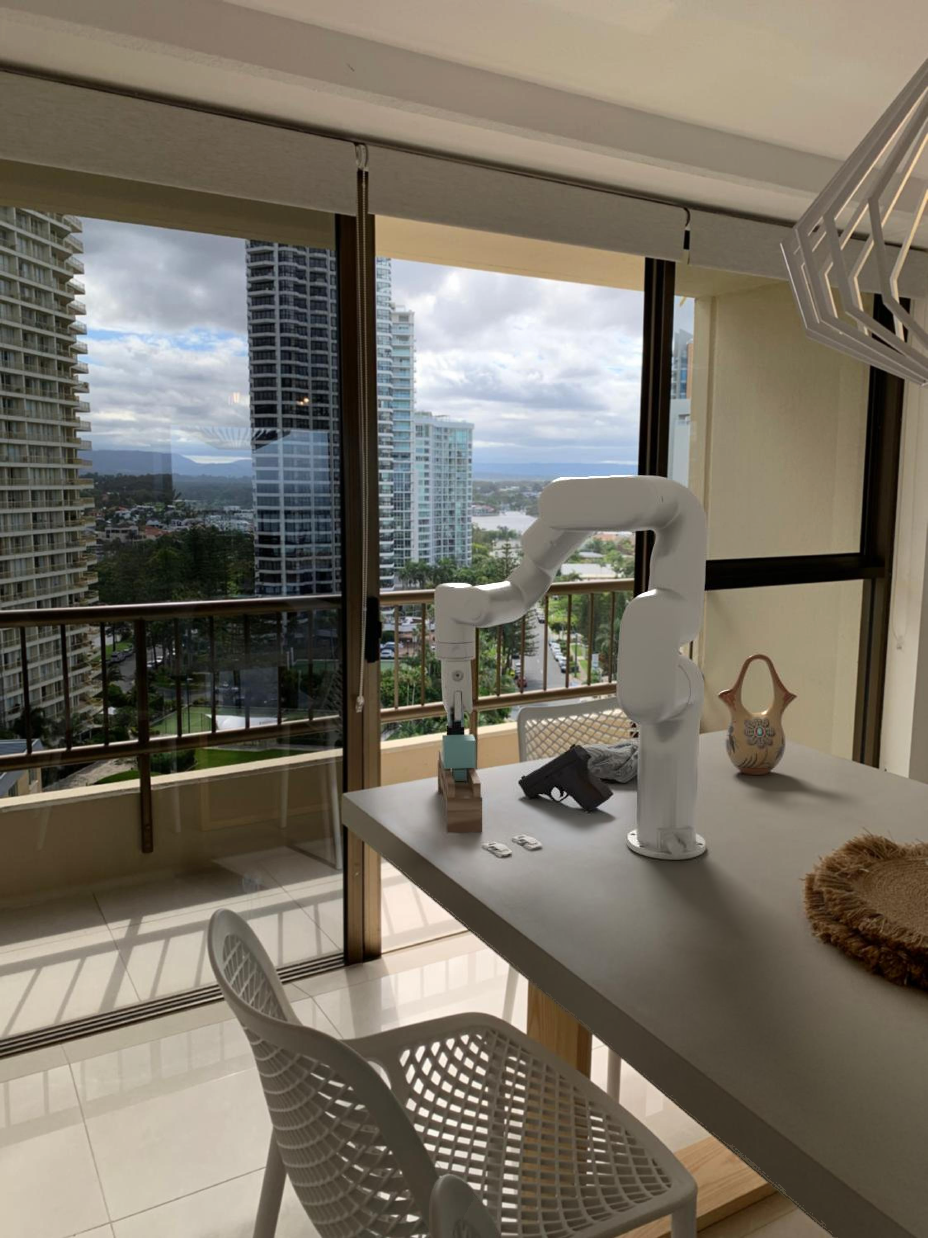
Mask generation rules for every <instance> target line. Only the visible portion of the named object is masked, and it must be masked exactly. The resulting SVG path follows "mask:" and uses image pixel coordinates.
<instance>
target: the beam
mask: <svg viewBox="0 0 928 1238" xmlns="http://www.w3.org/2000/svg"><path fill="white" fill-rule="evenodd" d="M481 791H482V783H481V781H480V777H479V775H478V772H477V770H476V768H466V780H465V781H454V779H453V775H452V769H444V765H443V748H438V759H437V792H438V795H441V796H442V795H443V799H444V803H445V828H446V829H445V830H446V833H447V834H454V833H455V834H457V833H459V834H460V833H480V832H481V833H482V832H483V796H482V793H481Z"/></svg>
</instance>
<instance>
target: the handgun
mask: <svg viewBox="0 0 928 1238" xmlns="http://www.w3.org/2000/svg"><path fill="white" fill-rule="evenodd" d="M582 746H583V745H581V744H577V745H576V744H575V743H573V744H571V746H569V749H568V750H566V751H564V752H563V753H561V754H560V755H558V756H556V757H555V758H553V759H551V760H550V761H548V762H546V763H545V764H544V765H542V766H541V767H539V768H537V769H535V770H533V771H531V772H530V773H528V774H526V775H525V774H524V775H522V776H521V778H520V779H519V780H518V781H517V782H518V785H519V787H520V789H521V790H522V792H523V793H524V795H525V797H526V798H527V799H528V800H531V799H532V798H535V797H536V796H539V795H543V796H547V797H548V798H549V799H550V800H551V801H552V802H554V803H557V804H558V803H561V802H562V801H564V800H565V799H567V798H568V797H571V798H572V799H573V800H574V801H575V803H577V804H578V805H579V807H581V808H582V810H584V812H586V813H589V812H591V811H593V810H594V809H597V808H598V807H599V806H601V805H602V804H604V803H605V802H607V801H609V799H610V798H611V797H612V796H613V795H614V792H613V791H612V790H611V789H610V788H609V786H608V785H607V784H606V783H605V782H603V781H602V779H601V778H598V777H596V776H595V775H594V774H593V773H592V772H590V770H589V769H588V760H589V759H590V758H592V756H591V755H590V754H589V753H588V752H587V751H586V750H585V749H584V748H583V747H582ZM587 753H588V754H587ZM554 789H557V791H559V798H561V799H556V798H555V797H554V796H553V794H552V793H553V790H554ZM564 795H565V796H564Z"/></svg>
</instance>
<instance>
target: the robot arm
mask: <svg viewBox="0 0 928 1238" xmlns="http://www.w3.org/2000/svg"><path fill="white" fill-rule="evenodd" d="M537 501H538V502H537V511H538V515H539V516H538V517H537V519H535V521H533V522H532V524H531V525H530V526H529V527H528V528H527V529H526V530H525V531H524V532H523V533H522V535H521V537H520V540H519V541H520V542H519V543H520V546H521V549H522V551H523V553H524V556H523V557H522V559H521V562H519V564H518V565H517V567H516V568H515V569H514V570H513V571H512V572H511V573H510V574H509V575H508V576H507V577H506V578H505V579H504V580H503V581H502V582H493V583H488V584H483V585H482V584H481V585H474V586H473V585H472V584H469V583H465V582H464V583H463V582H447V583H440V584H438V585H437V586H436V587H435V589H434V593H433V595H434V598H433V599H434V605H433V607H434V614H433V615H434V659H435V660H436V661H437V660H438V661H440V668H441V669H440V670H441V671H440V672H441V675H440V676H441V678H440V679H441V682H440V683H441V694H442V696H441V697H442V698H441V699H442V704H443V707H444V710H445V712H446V715H447V718H446V719H447V725H446V735H466V734H465V722H464V721H465V719H464V718H465V712H467V713H468V714H472V713H473V682H472V679H473V678H472V667H471V660H472V661H473V660H475V659H476V628H477V629H479V628H481V629H484V628H490V627H496V626H498V625H503V624H504V625H505V624H508V623H512V622H515V621H518V620H519V619H521V618H522V617H524V615H526V614H527V613H528V612H529V611H531V609H533V607H534V606H535V605H536V604H537V603H538V602H540V600H541V599H542V598H543V597H544V596H545V595H546V593H547V592H548V591H549V589H550V587H551V586H552V584H553V582H554V580H555V578H556V576H557V573H558V570H559V569H560V568H561V567H562V566H563V565H564V563H566V561H567V560H568V559H569V558H570V557H571V556H572V555H573V554H574V553H575V552H576V551H577V550H578V549H579V548H580V547H581V546H582V545H583V544H584V543H585V542H586V541H587V540H588V538H590V537H591V536H592V535H593V534H594V532H595V533H597V532H599V533H603V532H616V533H618V532H619V533H620V532H623V533H624V532H638V531H639V532H642V531H649V530H650V531H653V532H654V534H655V541H654V545H653V547H652V551H651V555H650V560H649V579H648V589H647V591H646V592H643V593H640V594H638V595H637V596H636V597H634V598H633V599H632V600H631V601H630V602H629V603H628V604H627V606H626V608H625V609H624V612H623V614H622V617H621V620H620V625H619V632H618V634H619V637H618V650H617V652H618V653H617V664H616V665H617V668H616V697H617V702H618V704H619V706H620V709H621V710H622V712H623V713H624V715H625V716H627V718H628V719H630V720H631V721H633V722H634V723H636V724H639V728H638V740H637V741H638V774H637V777H636V778H637V782H636V785H637V787H636V828H635V829H633V830H632V831H629V833H627V835H626V844H627V847H628V848H629V849H631V850H632V851H633V852H635V853H637V854H639V855H641V856H645V857H648V858H652V859H653V858H654V859H660V860H669V861H670V860H671V861H673V860H675V861H676V860H677V861H678V860H688V859H693V858H695V857H698V856H700V855H702V854H704V852H705V851H706V847H707V845H706V844H707V843H706V840H705V838H704V837H703V836H701V835H700V834H698V833H697V816H698V815H697V812H698V811H697V810H698V809H697V808H698V807H697V806H698V778H699V777H698V773H699V772H698V771H699V769H698V768H699V766H698V765H699V753H700V752H699V748H700V747H699V746H700V729H701V719H702V712H703V706H704V699H705V679H704V676H703V674H702V671H701V669H700V668H699V666H698V664H696V662H695V661H694V660H692V659H691V658H689V657H688V656H686V655H683V654H680V648H681V647H682V646H685V645H688V644H689V643H691V642H692V641H694V640H695V639H696V638H697V637H698V635H699V634H700V632H701V630H702V626H703V621H704V620H703V618H704V602H705V601H704V600H705V585H706V566H707V565H706V562H707V553H708V552H707V551H708V539H709V537H708V536H709V532H708V531H709V530H708V529H709V527H708V519H707V514H706V511H705V508H704V506H703V504H702V503H701V500H700V499H699V498H698V496H696V494H695V493H694V492H693V491H692V490H691V489H689V488H688V487H687V486H685V485H683V484H682V483H680V482H678V481H676V480H674V479H672V478H668V477H663V476H660V475H634V474H632V475H631V474H628V475H624V474H623V475H610V476H608V475H607V476H606V475H605V476H588V477H571V476H569V477H566V476H565V477H559V478H557V479H554V480H552V481H550V483H548V484H546V485H545V487H544V488H543V489H542V491H541V492H540V495H539V496H538V500H537Z"/></svg>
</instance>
